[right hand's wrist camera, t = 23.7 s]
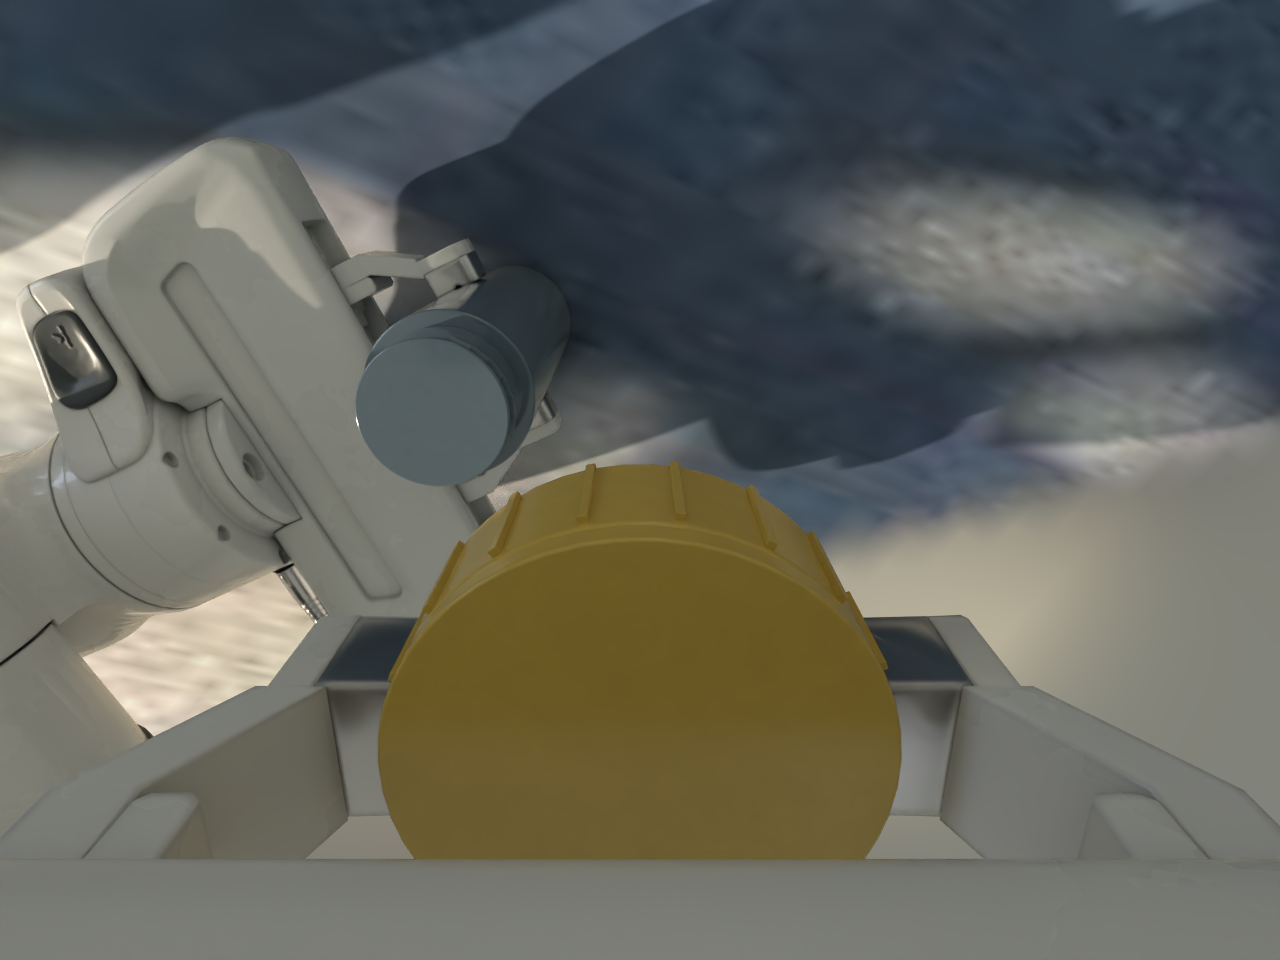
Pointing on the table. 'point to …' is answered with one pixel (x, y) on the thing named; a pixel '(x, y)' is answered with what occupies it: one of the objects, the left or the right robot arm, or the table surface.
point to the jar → (463, 377)
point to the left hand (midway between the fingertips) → (515, 334)
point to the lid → (639, 684)
